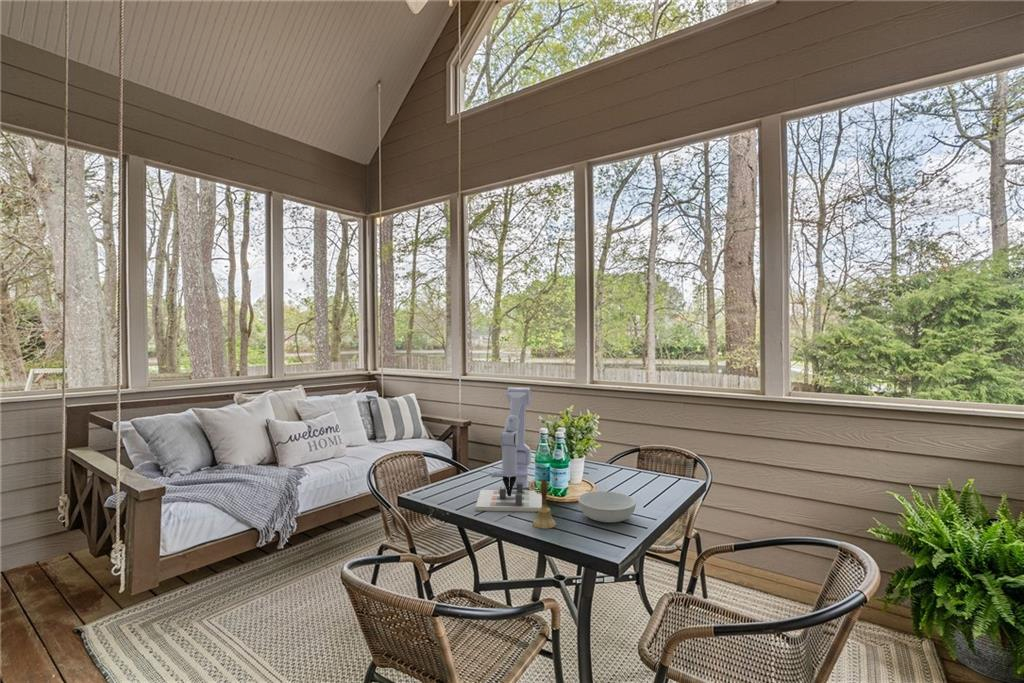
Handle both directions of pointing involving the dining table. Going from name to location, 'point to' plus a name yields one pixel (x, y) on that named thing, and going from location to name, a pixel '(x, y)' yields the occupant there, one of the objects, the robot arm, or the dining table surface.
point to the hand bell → (544, 511)
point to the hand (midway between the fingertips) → (509, 495)
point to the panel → (509, 500)
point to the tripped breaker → (502, 492)
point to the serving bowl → (606, 506)
